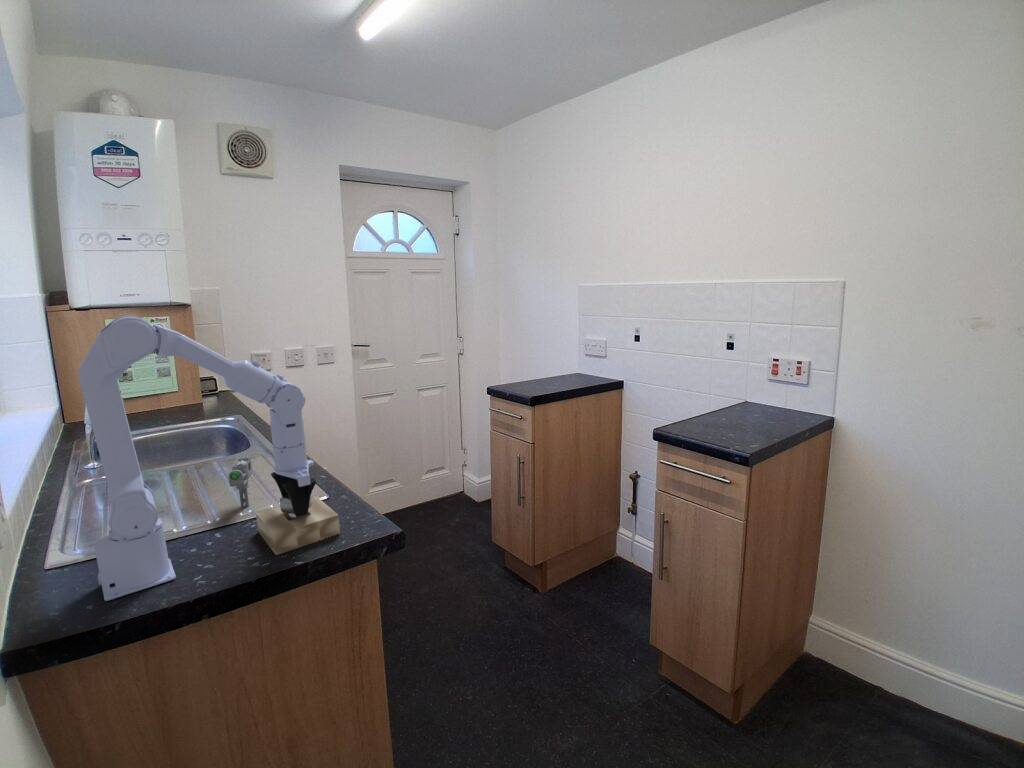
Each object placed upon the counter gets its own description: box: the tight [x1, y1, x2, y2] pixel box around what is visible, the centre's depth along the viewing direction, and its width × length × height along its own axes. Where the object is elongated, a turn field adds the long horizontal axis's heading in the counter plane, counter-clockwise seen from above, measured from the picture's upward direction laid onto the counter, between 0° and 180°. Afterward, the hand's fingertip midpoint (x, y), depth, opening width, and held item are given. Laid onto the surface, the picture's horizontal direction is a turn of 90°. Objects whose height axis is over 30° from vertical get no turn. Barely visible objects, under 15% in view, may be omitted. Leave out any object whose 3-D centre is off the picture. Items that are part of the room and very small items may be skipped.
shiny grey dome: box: [279, 494, 312, 521], centre depth 100 cm, size 6×6×6 cm
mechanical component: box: [228, 456, 253, 509], centre depth 113 cm, size 3×10×10 cm, turn 15°
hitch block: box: [255, 496, 341, 556], centre depth 100 cm, size 12×12×4 cm
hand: (296, 509), depth 100 cm, fingers closed on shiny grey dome, 6 cm apart
